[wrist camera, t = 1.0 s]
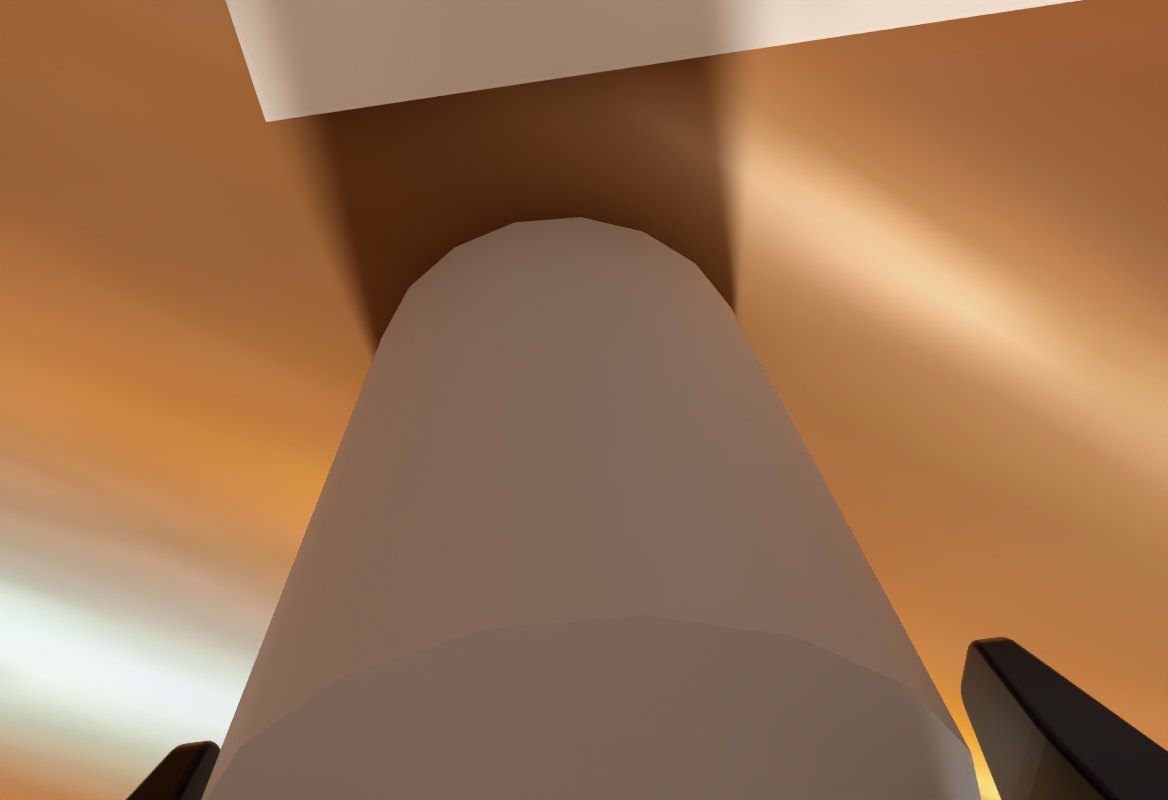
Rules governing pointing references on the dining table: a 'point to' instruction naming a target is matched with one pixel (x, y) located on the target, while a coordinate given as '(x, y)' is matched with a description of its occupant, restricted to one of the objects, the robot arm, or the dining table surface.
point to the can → (581, 564)
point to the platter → (524, 40)
